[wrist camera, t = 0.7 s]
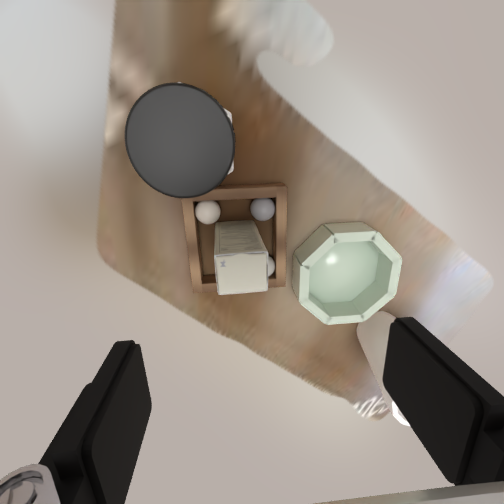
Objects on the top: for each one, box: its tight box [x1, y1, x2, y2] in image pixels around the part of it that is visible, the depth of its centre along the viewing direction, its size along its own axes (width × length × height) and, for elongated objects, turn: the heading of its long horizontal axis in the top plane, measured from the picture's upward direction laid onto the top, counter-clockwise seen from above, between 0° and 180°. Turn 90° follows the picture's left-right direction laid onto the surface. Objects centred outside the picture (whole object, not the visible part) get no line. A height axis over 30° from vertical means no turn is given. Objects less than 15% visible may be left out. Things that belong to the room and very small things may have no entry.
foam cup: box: [356, 311, 410, 426], centre depth 38 cm, size 10×9×13 cm
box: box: [214, 220, 268, 295], centre depth 32 cm, size 5×4×11 cm
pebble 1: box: [195, 200, 221, 224], centre depth 34 cm, size 3×3×3 cm
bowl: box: [292, 222, 402, 325], centre depth 38 cm, size 13×13×4 cm
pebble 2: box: [250, 198, 275, 221], centre depth 34 cm, size 3×3×3 cm
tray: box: [181, 183, 287, 293], centre depth 36 cm, size 13×12×2 cm
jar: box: [125, 82, 236, 198], centre depth 27 cm, size 9×8×12 cm
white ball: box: [268, 256, 275, 276], centre depth 37 cm, size 3×3×3 cm
